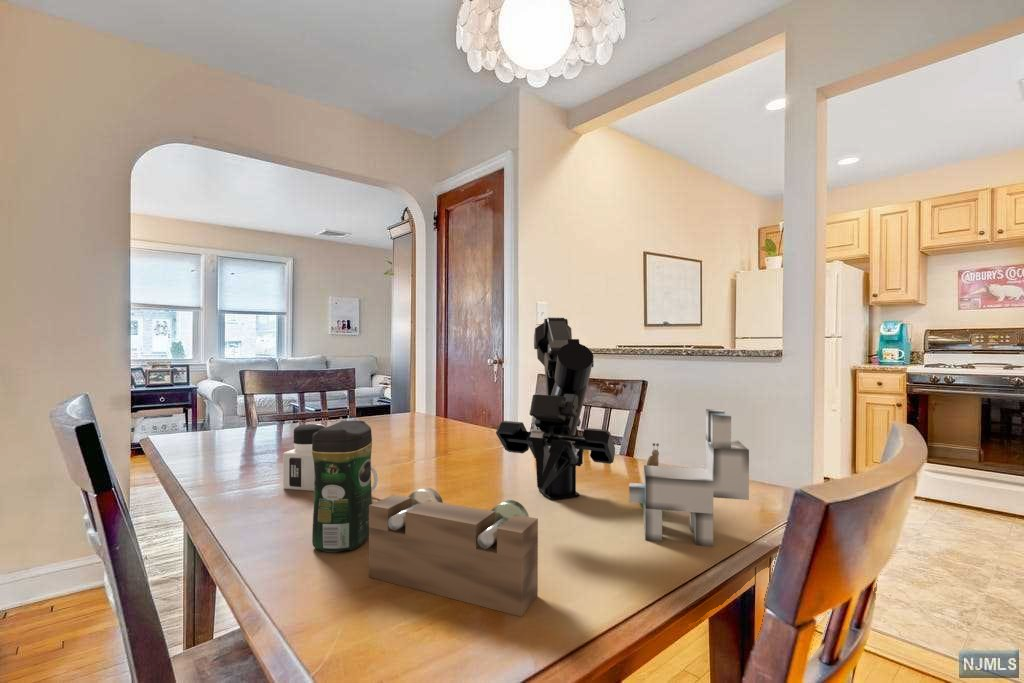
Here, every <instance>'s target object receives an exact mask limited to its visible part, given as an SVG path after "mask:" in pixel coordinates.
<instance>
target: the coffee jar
mask: <svg viewBox="0 0 1024 683" xmlns="http://www.w3.org/2000/svg"><path fill="white" fill-rule="evenodd" d="M325 427H326V428H322V429H320V430H318V432H315V433H314V434H313V436H312V439H313V442H312V455H313V460H314V473H315V477H314V491H313V513H312V535H311V536H312V538H311V540H312V542H311V543H312V546H313V548H315V549H317V550H319V551H320V550H321V551H322V552H326V553H328V552H329V553H339V552H343V551H349V550H354V549H356V548H358V547H360V546H361V545H362V544H363V543H364V542H365V541H367V539H369V505H371V504H373V500H372V498H373V497H372V492H371V487H372V475H371V474H372V471H371V466H372V450H373V449H372V448H373V438H372V437H373V435H372V428H371V426H370V425H368V424H367V423H366V421H364V420H340V421H339V422H337V423H334V424H332V425H329V426H325Z"/></svg>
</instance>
